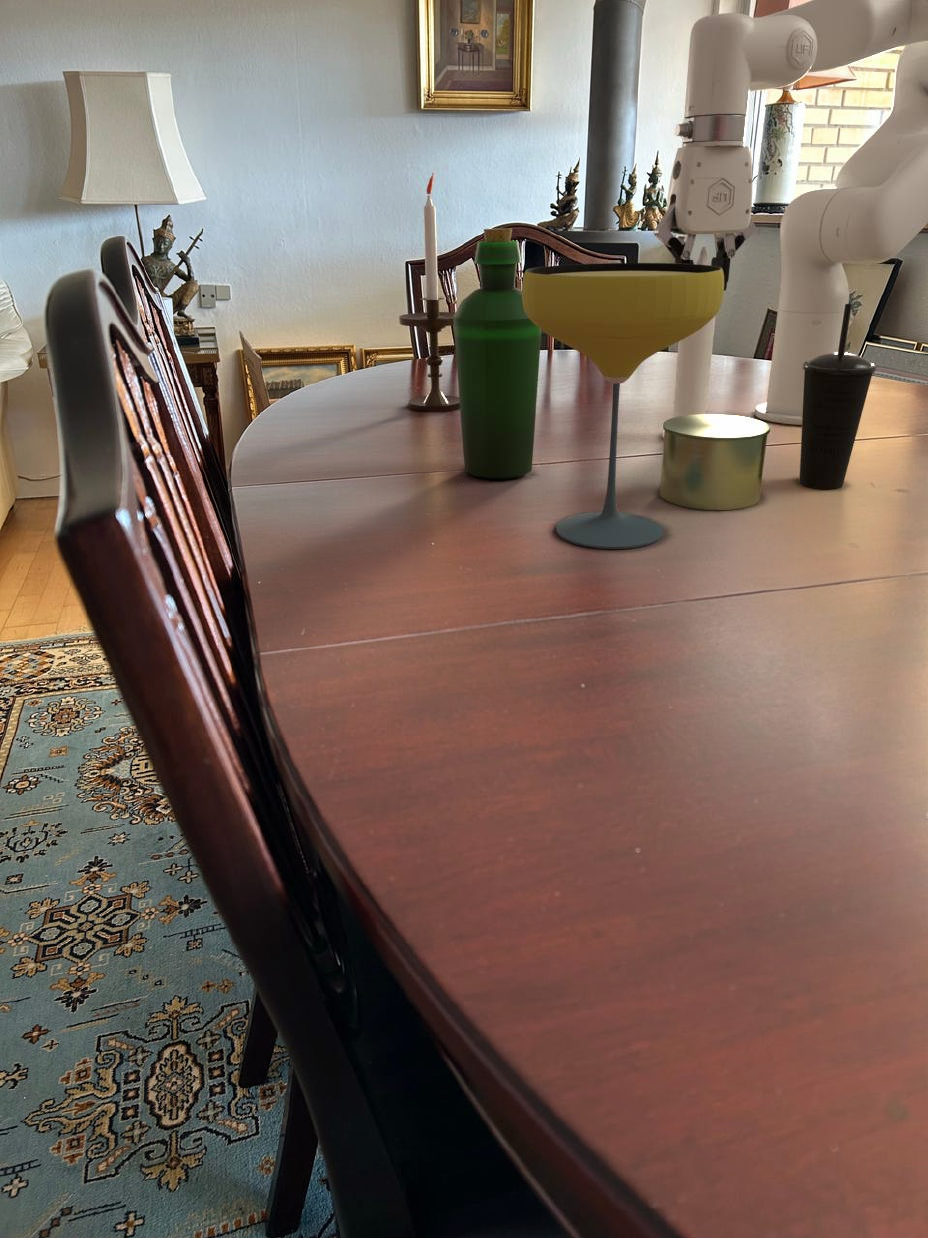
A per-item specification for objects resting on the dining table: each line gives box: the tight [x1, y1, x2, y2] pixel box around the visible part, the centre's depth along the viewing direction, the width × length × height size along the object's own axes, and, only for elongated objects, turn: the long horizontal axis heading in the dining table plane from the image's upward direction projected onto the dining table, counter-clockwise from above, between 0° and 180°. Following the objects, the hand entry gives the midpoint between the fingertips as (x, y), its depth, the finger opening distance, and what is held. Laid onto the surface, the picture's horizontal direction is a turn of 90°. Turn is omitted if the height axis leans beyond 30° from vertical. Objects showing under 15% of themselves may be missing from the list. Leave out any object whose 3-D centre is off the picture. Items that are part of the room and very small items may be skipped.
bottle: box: [453, 228, 542, 481], centre depth 106 cm, size 11×11×28 cm
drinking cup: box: [798, 303, 877, 490], centre depth 101 cm, size 8×8×20 cm
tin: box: [659, 413, 771, 511], centre depth 100 cm, size 11×11×8 cm
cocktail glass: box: [521, 262, 725, 550], centre depth 86 cm, size 18×18×25 cm
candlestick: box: [398, 172, 460, 413], centre depth 142 cm, size 11×11×35 cm
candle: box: [661, 246, 716, 439], centre depth 121 cm, size 7×7×25 cm
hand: (700, 289), depth 118 cm, fingers closed on candle, 4 cm apart
